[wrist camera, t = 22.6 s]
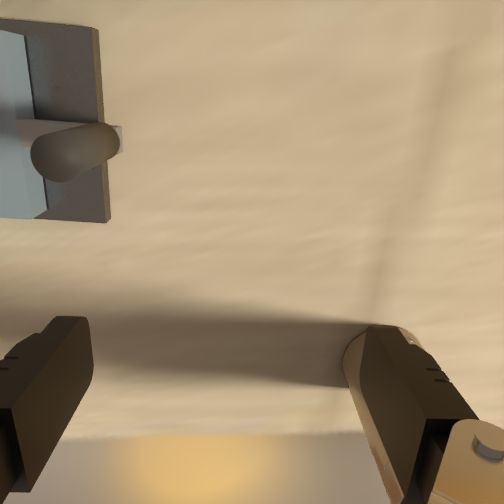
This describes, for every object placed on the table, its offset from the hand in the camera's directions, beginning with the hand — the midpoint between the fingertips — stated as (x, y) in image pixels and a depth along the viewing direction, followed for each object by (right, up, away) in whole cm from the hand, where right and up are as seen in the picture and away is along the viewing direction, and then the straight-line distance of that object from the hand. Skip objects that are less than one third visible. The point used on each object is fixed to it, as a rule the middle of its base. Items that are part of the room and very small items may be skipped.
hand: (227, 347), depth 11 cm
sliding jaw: (-15, +13, +21) cm, 29 cm away
